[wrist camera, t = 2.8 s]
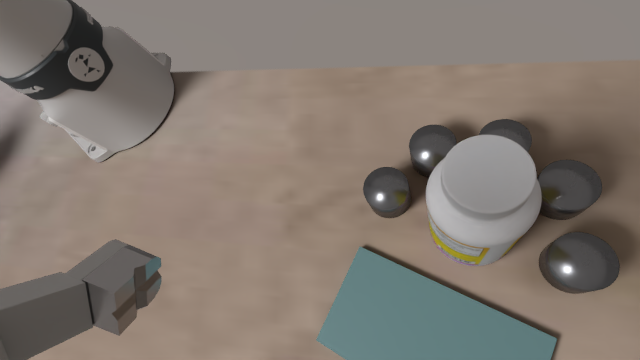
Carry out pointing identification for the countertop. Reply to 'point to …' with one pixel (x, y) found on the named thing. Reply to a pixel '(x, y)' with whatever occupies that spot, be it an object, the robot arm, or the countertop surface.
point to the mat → (420, 320)
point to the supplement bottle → (482, 199)
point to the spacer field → (557, 203)
